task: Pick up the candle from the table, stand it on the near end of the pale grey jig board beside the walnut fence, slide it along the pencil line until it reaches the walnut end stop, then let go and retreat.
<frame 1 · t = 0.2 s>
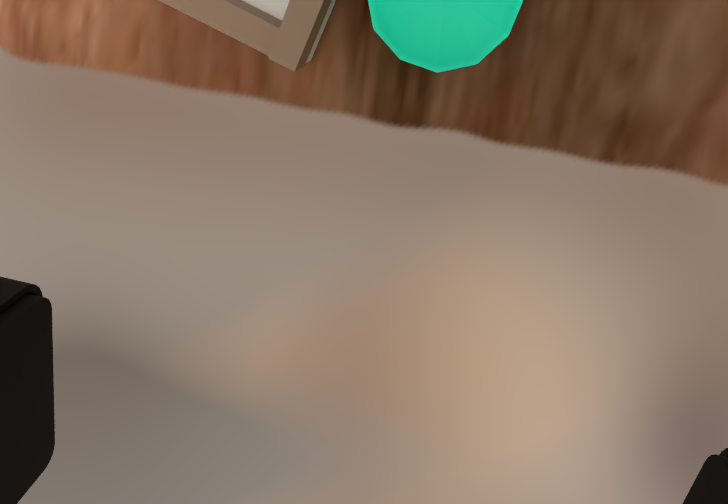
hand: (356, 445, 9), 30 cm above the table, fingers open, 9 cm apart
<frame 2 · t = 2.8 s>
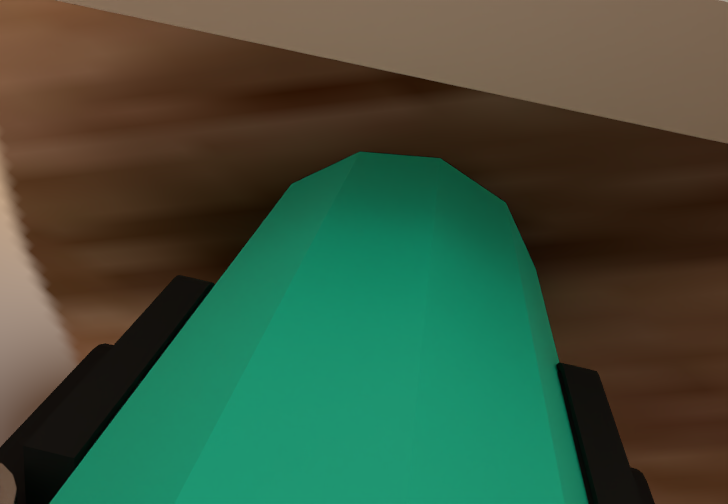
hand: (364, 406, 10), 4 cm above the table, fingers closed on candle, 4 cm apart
candle: (391, 284, 14), on the table, touching gripper
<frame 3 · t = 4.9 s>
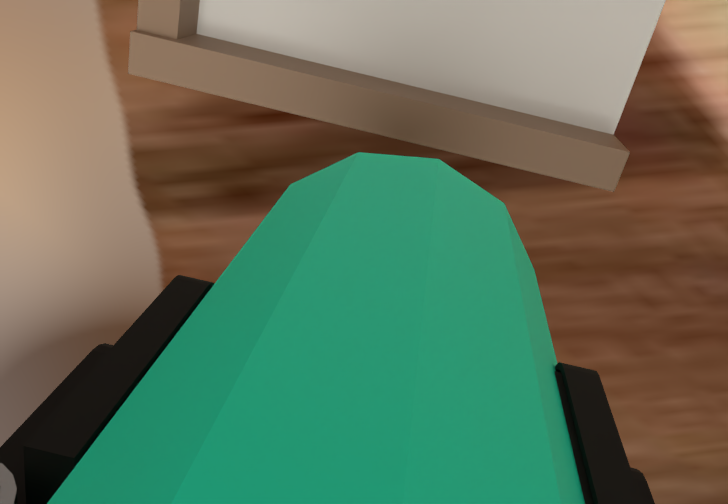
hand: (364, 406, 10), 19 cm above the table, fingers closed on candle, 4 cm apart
candle: (389, 284, 14), point 15 cm above the table, touching gripper
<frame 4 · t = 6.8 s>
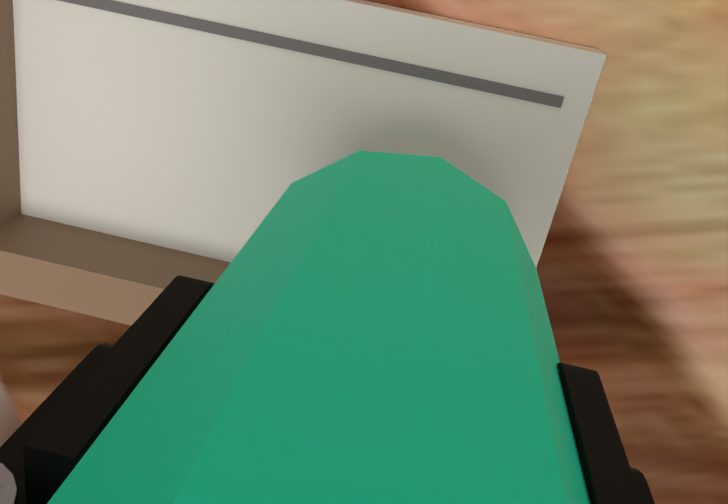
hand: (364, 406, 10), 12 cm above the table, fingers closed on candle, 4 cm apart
jig board: (267, 149, 21), on the table
candle: (391, 283, 14), point 7 cm above the table, touching gripper
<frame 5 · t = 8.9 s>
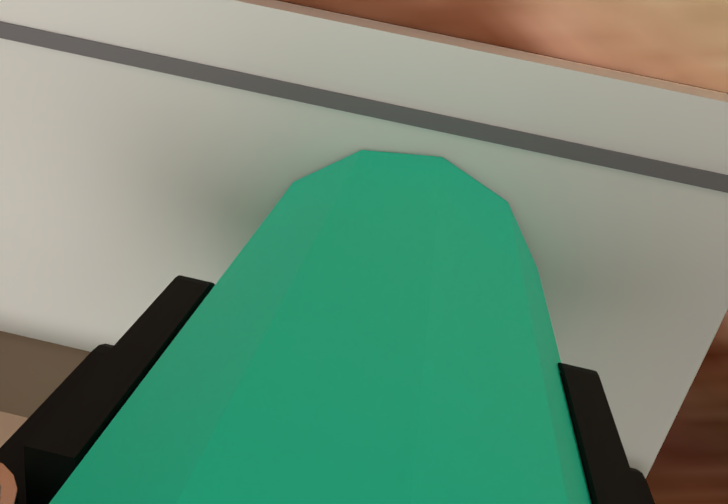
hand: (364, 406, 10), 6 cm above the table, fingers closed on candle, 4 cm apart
jig board: (299, 235, 15), on the table
candle: (392, 283, 14), point 1 cm above the table, touching gripper
when the fingers open (5 cm above the table, at t = 10.6 s): candle stays where it is, resting on jig board.
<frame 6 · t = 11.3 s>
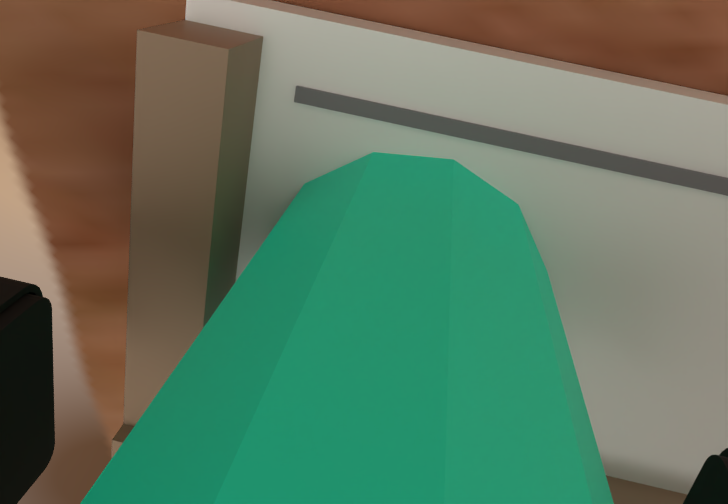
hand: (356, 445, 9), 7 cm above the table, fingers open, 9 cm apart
jig board: (574, 298, 15), on the table
candle: (401, 284, 14), point 1 cm above the table, touching jig board
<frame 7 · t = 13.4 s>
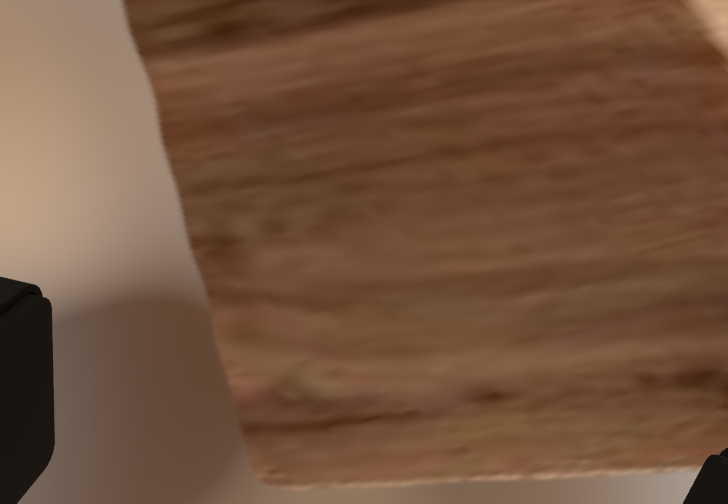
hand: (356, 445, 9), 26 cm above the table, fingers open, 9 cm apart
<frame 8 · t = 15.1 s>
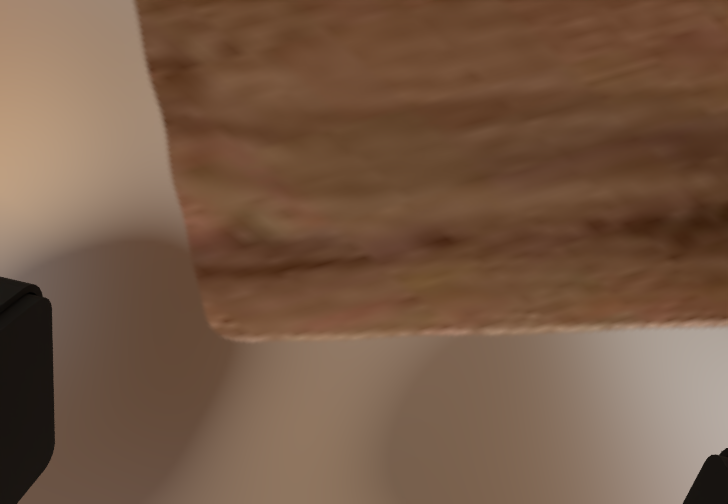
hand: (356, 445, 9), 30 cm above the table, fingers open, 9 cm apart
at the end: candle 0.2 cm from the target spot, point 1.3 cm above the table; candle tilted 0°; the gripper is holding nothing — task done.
